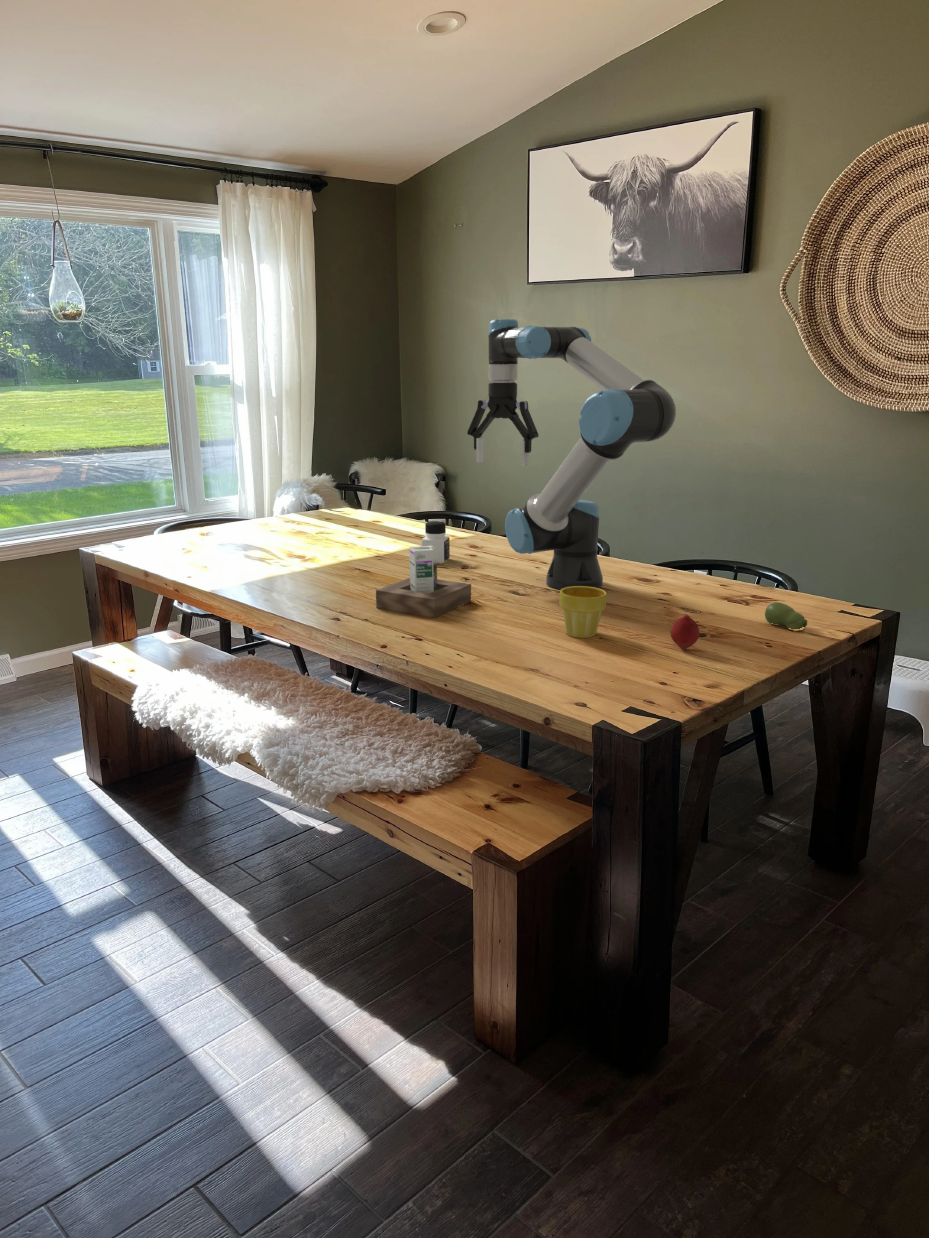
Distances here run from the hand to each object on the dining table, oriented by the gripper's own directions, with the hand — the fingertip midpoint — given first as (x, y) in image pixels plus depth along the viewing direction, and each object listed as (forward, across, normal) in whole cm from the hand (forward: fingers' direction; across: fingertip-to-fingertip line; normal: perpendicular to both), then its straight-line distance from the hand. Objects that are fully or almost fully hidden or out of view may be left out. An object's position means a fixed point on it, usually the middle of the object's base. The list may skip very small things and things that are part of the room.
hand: (502, 463), depth 239 cm
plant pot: (+32, -40, +35) cm, 62 cm away
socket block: (+32, +4, +33) cm, 46 cm away
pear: (+32, -78, +6) cm, 84 cm away
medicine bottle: (+32, +28, -10) cm, 44 cm away
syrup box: (+32, +4, +33) cm, 46 cm away
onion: (+32, -63, +34) cm, 78 cm away
